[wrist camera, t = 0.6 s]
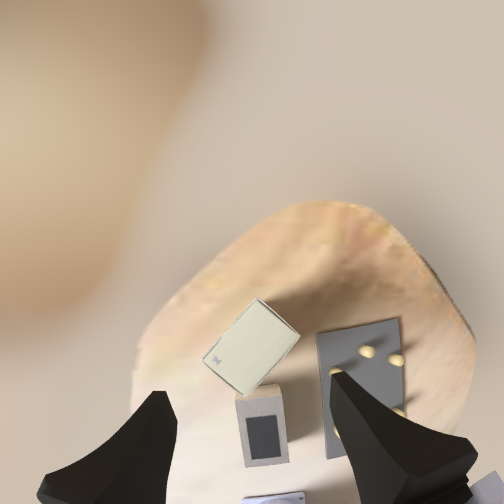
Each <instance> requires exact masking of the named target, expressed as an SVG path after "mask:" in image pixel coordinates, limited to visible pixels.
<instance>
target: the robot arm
mask: <svg viewBox="0 0 504 504" xmlns="http://www.w3.org/2000/svg"><path fill="white" fill-rule="evenodd" d="M329 406H330V410H331V414H332V418H333V421H334V425H335V427H336V430H337V432H338V434H339V437H340V439H341V441H342V444H343V446H344V448H345V451H346V453H347V456H348V458H349V460H350V463H351V466H352V469H353V472H354V476H355V479H356V483H357V487H358V491H359V495H360V499H361V504H504V483H503V481H502V480H501V478H500V477H499V476H498V474H497V472H496V471H493V472H491V473H490V474H488V475H487V476H485V477H484V478H482V479H481V480H479V481H478V482H476V483H475V484H473V485H472V486H471V487H470V488H469V487H468V485H467V484H466V483H468V481H469V479H468V478H467V476H466V474H467V472H468V471H469V470H470V468H471V467H472V466H473V464H474V463H475V461H476V460H477V457H478V453H477V451H476V450H475V448H474V447H473V445H472V444H471V443H470V441H469V440H468V439H467V438H462V437H457V436H453V435H448V434H444V433H441V432H437V431H434V430H431V429H429V428H426V427H424V426H421V425H419V424H417V423H414V422H412V421H410V420H408V419H406V418H404V417H403V416H401V415H399V414H397V413H396V412H394V411H393V410H391V409H390V408H388V407H387V406H385V405H384V404H382V403H381V402H380V401H379V400H377V399H376V398H375V397H373V396H372V395H371V394H370V393H369V392H367V391H366V390H365V389H364V388H363V387H362V386H360V385H359V384H358V383H357V382H356V381H355V380H354V379H353V378H352V377H351V376H350V375H349V374H348V373H347V372H345V371H342V372H337V373H333V374H331V386H330V403H329ZM177 422H178V421H177V419H176V416H175V414H174V411H173V409H172V406H171V404H170V401H169V398H168V396H167V393H166V391H153V392H152V393H151V394H150V395H149V396H148V397H147V399H146V400H145V401H144V402H143V403H142V405H141V406H140V407H139V408H138V409H137V411H136V412H135V413H134V414H133V415H132V416H131V417H130V419H129V420H128V421H127V422H126V423H125V424H124V425H123V426H122V427H121V428H120V429H119V430H118V431H117V432H116V433H115V434H114V435H113V436H112V437H111V438H110V439H109V440H107V441H106V442H105V443H104V444H102V445H101V446H100V447H99V448H97V449H96V450H94V451H93V452H91V453H90V454H88V455H87V456H85V457H84V458H82V459H80V460H79V461H77V462H75V463H73V464H71V465H69V466H67V467H65V468H62V469H60V470H57V471H55V472H52V473H49V474H46V475H45V477H44V479H43V481H42V483H41V486H40V488H39V490H38V492H37V498H38V499H39V501H40V502H41V503H42V504H166V489H167V481H168V475H169V471H170V466H171V461H172V457H173V452H174V448H175V443H176V436H177ZM300 497H303V498H300ZM245 503H246V504H306V503H305V494H304V492H297V493H290V494H283V495H275V496H266V497H255V498H243V499H242V500H241V504H245Z"/></svg>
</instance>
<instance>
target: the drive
mask: <svg viewBox="0 0 504 504" xmlns="http://www.w3.org/2000/svg"><path fill="white" fill-rule="evenodd" d="M235 404H236V411H237V418H238V424H239V431H240V437H241V444H242V450H243V456H244V462H245V467H257V466H267V465H275V464H283V463H289V453H288V444H287V435H286V425H285V416H284V407H283V399H282V393H281V390H280V387H279V384H278V383H277V384H270V385H261V386H257V387H256V388H255V389H254V390H253V391H252V392H251V393H250V394H249V395H248V396H246V397H243V396H242V395H241V394H239V393H238V392H237V394H236V398H235Z"/></svg>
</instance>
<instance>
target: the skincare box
mask: <svg viewBox="0 0 504 504" xmlns="http://www.w3.org/2000/svg"><path fill="white" fill-rule="evenodd" d="M300 337H301V336H300V334H299V333H298V332H297V331H296V330H294V329H293V328H292V327H291V326H290V325H289V324H288V323H287V322H286V321H285V320H284V319H283V318H282V317H280V316H279V315H278V314H277V313H276V312H275V311H274V310H273V309H271V308H270V307H269V306H268V305H267V304H266V303H265V302H263V301H262V300H261V299H260V298H256V299H254V300H253V302H252V303H251V304H250V305H249V306H248V307H247V308H246V309H245V310H244V312H243V313H242V314H241V315H240V316H239V317H238V318H237V319H236V321H235V322H234V323H233V324H232V325H231V326H230V327H229V328H228V330H227V331H226V332H225V333H224V334H223V335H222V336H221V337H220V339H219V340H218V341H217V342H216V343H215V344H214V345H213V346H212V347H211V349H210V350H209V351H208V352H207V353H206V354H205V355H204V356H203V358H202V359H201V361H202V362H203V363H204V364H205V365H206V366H207V367H208V368H209V369H210V370H211V371H212V372H214V373H215V374H216V375H217V376H218V377H219V378H220V379H222V380H223V381H224V382H225V383H226V384H228V385H229V386H230V387H231V388H233V389H234V390H235V391H237V392H238V393H239V394H241V395H242V396H243V397H246V396H248V395H249V394H250V393H251V392H252V391H253V390H254V389H255V388H256V387H257V386H258V385H259V384H260V383H261V382H262V381H263V380H264V379H265V378H266V377H267V376H268V375H269V374H270V373H271V372H272V371H273V369H274V368H275V367H276V366H277V365H278V364H279V363H280V361H281V360H282V359H283V358H284V357H285V356H286V354H287V353H288V352H289V351H290V349H291V348H292V347H293V346H294V344H295V343H296V342H297V341H298V339H299V338H300Z"/></svg>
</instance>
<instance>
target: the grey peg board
mask: <svg viewBox="0 0 504 504" xmlns="http://www.w3.org/2000/svg"><path fill="white" fill-rule="evenodd" d="M316 342H317V351H318V360H319V370H320V381H321V392H322V403H323V416H324V430H325V446H326V458H327V460H328V459H332V458H337V457H341V456H345V455H347V453H346V451H345V448H344V446H343V444H342V441H341V439H340V437H339V434H338V432H337V430H336V427H335V425H334V421H333V418H332V414H331V410H330V406H329V403H330V386H331V374H333V373H337V372H342V371H345V372H347V373H348V374H349V375H350V376H351V377H352V378H353V379H354V380H355V381H356V382H357V383H358V384H359V385H360V386H362V387H363V388H364V389H365V390H366V391H367V392H369V393H370V394H371V395H372V396H373V397H375V398H376V399H377V400H379V401H380V402H381V403H382V404H384V405H385V406H387V407H388V408H390V409H391V410H393V411H394V412H396V413H397V414H399V415H401V416H403V417H404V418H406V417H407V415H406V413H404V412H403V379H402V366H403V365H404V363H405V357H404V356H401V345H400V334H399V324H398V319H391V320H386V321H382V322H377V323H373V324H368V325H363V326H358V327H353V328H348V329H342V330H337V331H331V332H326V333H320V334H316Z"/></svg>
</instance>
